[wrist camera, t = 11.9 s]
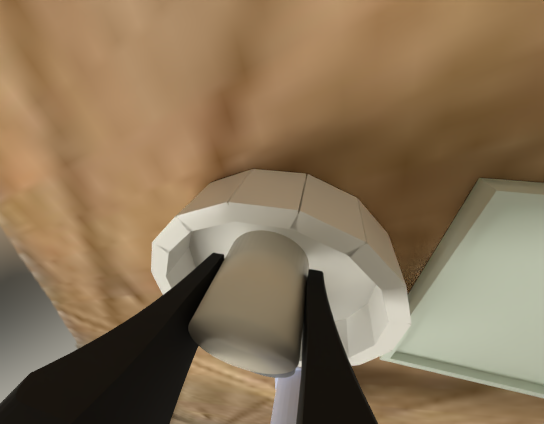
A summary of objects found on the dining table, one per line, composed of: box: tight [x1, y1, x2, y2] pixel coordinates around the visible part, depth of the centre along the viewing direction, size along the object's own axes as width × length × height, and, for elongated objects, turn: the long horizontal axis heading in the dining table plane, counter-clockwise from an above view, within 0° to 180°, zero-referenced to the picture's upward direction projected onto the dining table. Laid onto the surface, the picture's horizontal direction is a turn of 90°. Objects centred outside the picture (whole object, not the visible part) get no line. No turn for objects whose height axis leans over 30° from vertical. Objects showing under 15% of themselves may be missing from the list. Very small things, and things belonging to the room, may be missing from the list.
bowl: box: [151, 169, 411, 367], centre depth 14 cm, size 15×15×4 cm
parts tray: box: [380, 178, 544, 398], centre depth 12 cm, size 16×12×1 cm
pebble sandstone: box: [188, 230, 309, 374], centre depth 10 cm, size 4×4×4 cm
